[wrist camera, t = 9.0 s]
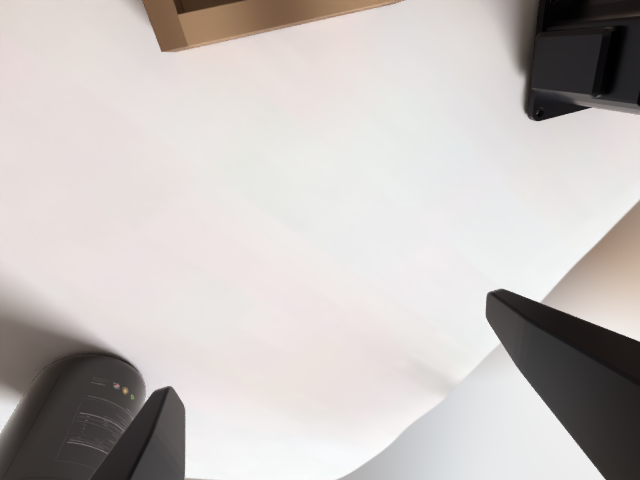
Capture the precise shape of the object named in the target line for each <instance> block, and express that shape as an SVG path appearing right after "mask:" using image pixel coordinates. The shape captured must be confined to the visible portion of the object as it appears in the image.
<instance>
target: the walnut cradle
mask: <svg viewBox="0 0 640 480" xmlns="http://www.w3.org/2000/svg"><path fill="white" fill-rule="evenodd" d="M142 1H143V3H144V6H145V9H146V11H147V14H148V17H149V19H150V22H151V25H152V27H153V30H154V33H155V35H156V38H157V41H158V43H159V46H160V49H161V51H162V52H178V51H183V50H187V49H192V48H196V47H201V46H205V45H210V44H214V43H219V42H223V41H228V40H232V39H237V38H241V37H246V36H250V35H255V34H259V33H264V32H268V31H273V30H277V29H282V28H286V27H291V26H295V25H300V24H305V23H309V22H314V21H318V20H323V19H327V18H332V17H336V16H341V15H345V14H350V13H354V12H359V11H363V10H368V9H372V8H377V7H381V6H386V5H390V4H395V3H398V2H401V1H404V0H142Z"/></svg>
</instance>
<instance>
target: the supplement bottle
mask: <svg viewBox="0 0 640 480" xmlns="http://www.w3.org/2000/svg"><path fill="white" fill-rule="evenodd" d="M145 397H146V387H145V383H144V380H143V379H142V377H141V375H140V374H139V373H138V372H137V371H136V369H134V368H133V367H132V366H130V365H129V364H127V363H126V362H124V361H122V360H119V359H117V358H113V357H110V356H105V355H97V354H83V355H75V356H70V357H67V358H64V359H61V360H58V361H56V362H54V363H52V364H50V365H49V366H47V367H46V368H44V369H43V370H42V371H41V372H40V373H39V374H38V375H37V376H36V377H35V379H34V380H33V382H32V383H31V385H30V386H29V388H28V389H27V391H26V392H25V394H24V396H23V397H22V399H21V400H20V402H19V404H18V405H17V407H16V409H15V410H14V412H13V413H12V415H11V417H10V418H9V420H8V422H7V423H6V425H5V426H4V428H3V430H2V431H1V433H0V480H89V479H90V478H91V476H92V475H93V474H94V472H95V471H96V469H97V468H98V467H99V465H100V464H101V463H102V461H103V460H104V459H105V457H106V456H107V454H108V453H109V452H110V450H111V449H112V448H113V446H114V445H115V444H116V442H117V441H118V439H119V438H120V437H121V435H122V434H123V433H124V431H125V430H126V429H127V427H128V426H129V424H130V423H131V422H132V420H133V419H134V418H135V416H136V415H137V413H138V412H139V411H140V409H141V408H142V407H143V405H144V401H145Z"/></svg>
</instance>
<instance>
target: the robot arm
mask: <svg viewBox="0 0 640 480" xmlns="http://www.w3.org/2000/svg"><path fill="white" fill-rule="evenodd" d="M592 107H593V108H599V109H606V110H612V111H619V112H625V113H631V114H638V115H640V0H552V2H551V3H550V0H540V1H539V10H538V19H537V29H536V38H535V48H534V57H533V67H532V76H531V86H530V95H529V105H528V117H529V119H531V120H534V121H541V120H545V119H549V118H553V117H557V116H561V115H565V114H569V113H573V112H576V111H580V110H584V109H588V108H592ZM538 109H539V113H538V114H536V113H537V110H538ZM486 318H487V320H488V322H489V324H490V325H491V327H492V329H493V330H494V332H495V333H496V335H497V336H498V338H499V340H500V341H501V343H502V344H503V346H504V347H505V349H506V351H507V352H508V354H509V355H510V357H511V358H512V360H513V361H514V363H515V365H516V366H517V367H518V369H519V370H520V371H521V373H522V374H523V375H524V377H525V378H526V379H527V380H528V382H529V383H530V384H531V386H532V387H533V388H534V389H535V391H536V392H537V393H538V394H539V396H540V397H541V398H542V400H543V401H544V402H545V403H546V405H547V406H548V407H549V408H550V410H551V411H552V412H553V414H554V415H555V416H556V417H557V419H558V420H559V421H560V422H561V424H562V425H563V426H564V427H565V429H566V430H567V431H568V433H569V434H570V435H571V436H572V438H573V439H574V440H575V441H576V443H577V444H578V445H579V446H580V448H581V449H582V450H583V452H584V453H585V454H586V455H587V456H588V458H589V459H590V460H591V462H592V463H593V464H594V466H595V467H596V468H597V469H598V470H599V472H600V473H601V474H602V476H603V477H604V478H605V479H606V480H640V342H639V341H637V340H634V339H631V338H629V337H626V336H624V335H621V334H618V333H616V332H613V331H611V330H608V329H605V328H603V327H600V326H598V325H595V324H593V323H590V322H588V321H585V320H582V319H580V318H577V317H575V316H572V315H570V314H567V313H564V312H562V311H559V310H556V309H554V308H552V307H549V306H546V305H544V304H541V303H539V302H536V301H534V300H531V299H528V298H526V297H523V296H521V295H518V294H515V293H513V292H510V291H508V290H505V289H498V290H494V291H491V292H489V293H488V294H487V299H486ZM184 477H185V408H184V405H183V403H182V401H181V400H180V398H179V396H178V395H177V393H176V392H175V390H174V389H173V387H171V386H167V387H164V388H161V389H157V390H155V391H154V392H153V393H152V394H151V396H150V397H149V398H148V400H147V401H146V403H145V404H144V405H143V407H142V408H141V409H140V411H139V412H138V413H137V415H136V416H135V418H134V419H133V420H132V422H131V423H130V424H129V426H128V427H127V429H126V430H125V431H124V433H123V434H122V435H121V437H120V438H119V439H118V441H117V442H116V444H115V445H114V446H113V448H112V449H111V450H110V452H109V453H108V454H107V456H106V457H105V459H104V460H103V461H102V463H101V464H100V465H99V467H98V468H97V469H96V471H95V472H94V474H93V475H92V476H91V478H90V479H89V480H184Z"/></svg>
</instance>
